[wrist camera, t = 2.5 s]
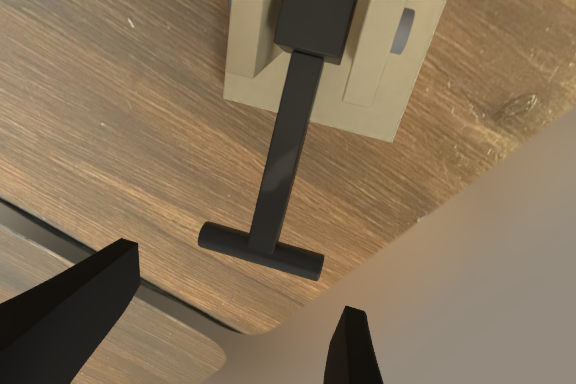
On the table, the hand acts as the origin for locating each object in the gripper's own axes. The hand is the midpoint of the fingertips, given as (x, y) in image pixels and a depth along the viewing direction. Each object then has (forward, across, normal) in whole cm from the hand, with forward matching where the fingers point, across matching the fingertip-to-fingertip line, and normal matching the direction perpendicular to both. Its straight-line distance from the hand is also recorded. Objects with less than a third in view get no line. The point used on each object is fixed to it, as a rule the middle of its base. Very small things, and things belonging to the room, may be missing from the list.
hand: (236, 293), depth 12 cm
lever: (+5, 0, -4) cm, 7 cm away
